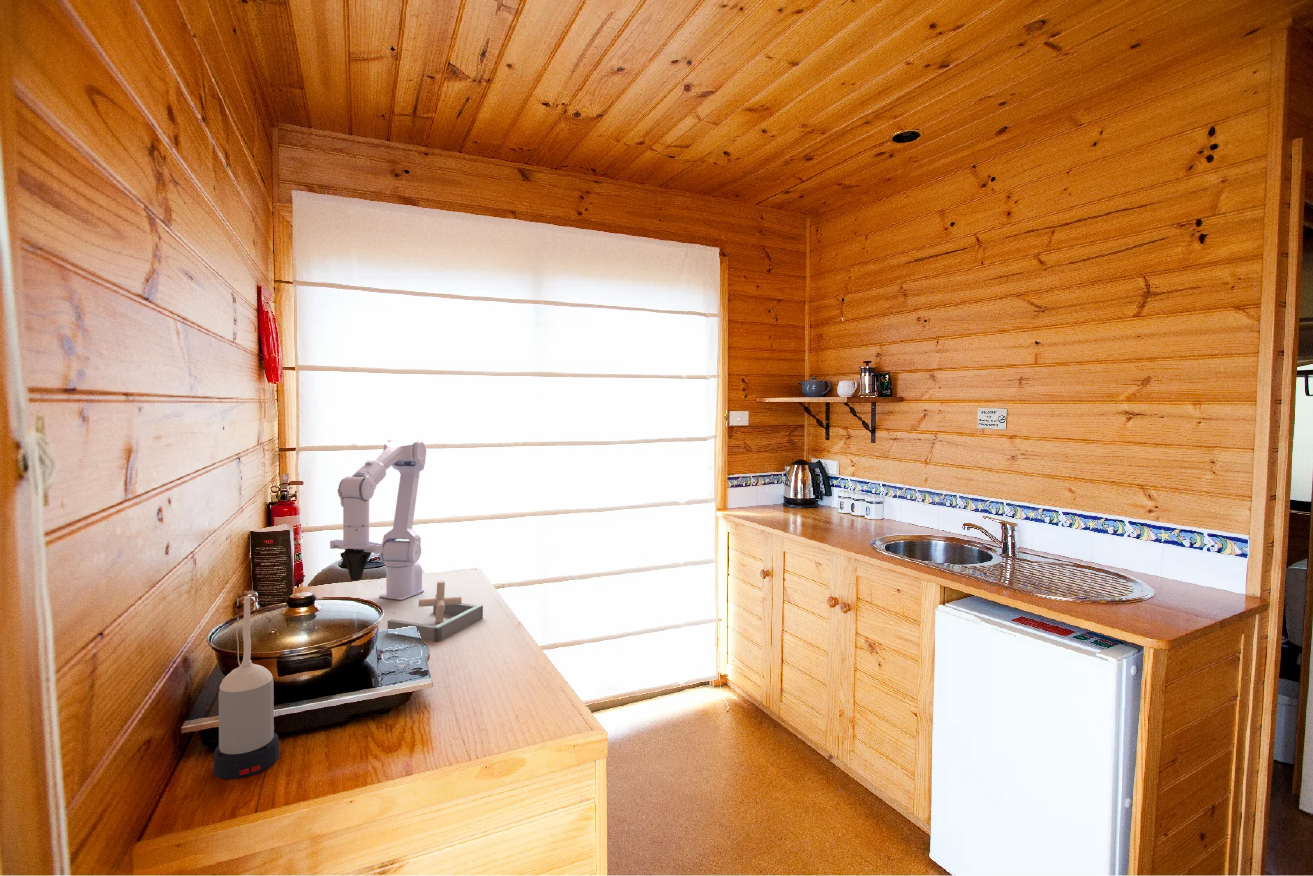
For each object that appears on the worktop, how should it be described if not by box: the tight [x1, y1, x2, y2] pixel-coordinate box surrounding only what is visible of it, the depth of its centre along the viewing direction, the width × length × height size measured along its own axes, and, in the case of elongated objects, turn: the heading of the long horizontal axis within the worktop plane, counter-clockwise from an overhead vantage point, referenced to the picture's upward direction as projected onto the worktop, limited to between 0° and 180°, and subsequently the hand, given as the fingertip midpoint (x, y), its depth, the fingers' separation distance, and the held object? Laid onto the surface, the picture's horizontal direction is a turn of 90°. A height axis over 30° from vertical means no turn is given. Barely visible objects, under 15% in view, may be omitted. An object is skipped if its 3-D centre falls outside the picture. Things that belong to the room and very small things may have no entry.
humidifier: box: [212, 596, 280, 781], centre depth 90 cm, size 8×8×25 cm
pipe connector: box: [418, 580, 463, 624], centre depth 151 cm, size 10×10×10 cm
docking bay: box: [387, 602, 484, 643], centre depth 149 cm, size 14×17×3 cm
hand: (356, 579), depth 150 cm, fingers closed
